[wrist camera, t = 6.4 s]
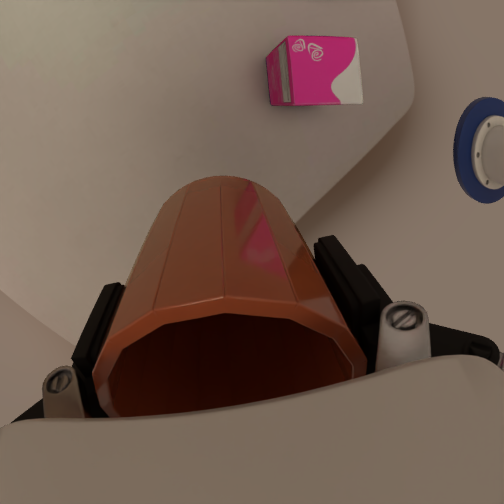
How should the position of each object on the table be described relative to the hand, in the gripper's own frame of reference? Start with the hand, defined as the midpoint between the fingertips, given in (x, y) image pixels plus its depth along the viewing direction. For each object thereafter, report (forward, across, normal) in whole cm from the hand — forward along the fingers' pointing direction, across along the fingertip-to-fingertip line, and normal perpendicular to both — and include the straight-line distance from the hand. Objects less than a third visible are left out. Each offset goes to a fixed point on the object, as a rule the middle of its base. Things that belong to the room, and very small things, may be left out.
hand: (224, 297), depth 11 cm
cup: (+4, 0, 0) cm, 4 cm away
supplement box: (+26, -10, -8) cm, 28 cm away
